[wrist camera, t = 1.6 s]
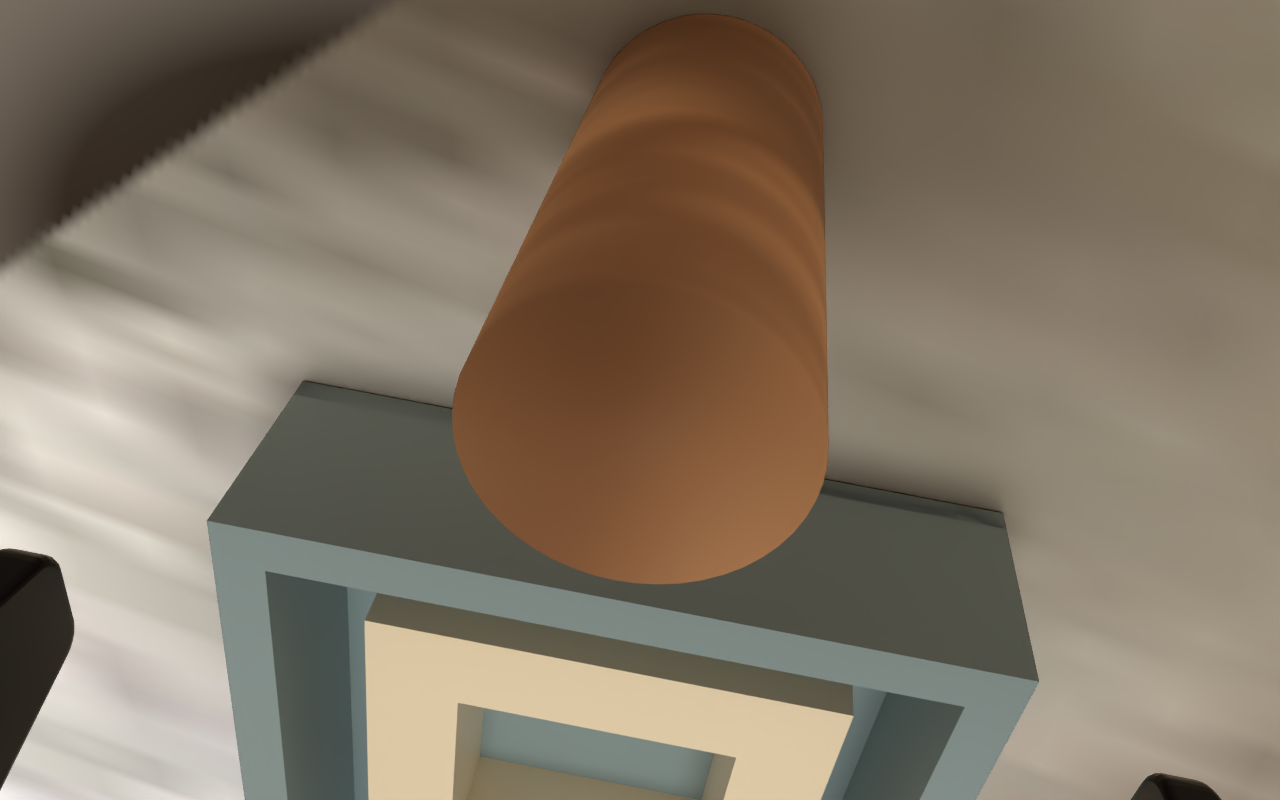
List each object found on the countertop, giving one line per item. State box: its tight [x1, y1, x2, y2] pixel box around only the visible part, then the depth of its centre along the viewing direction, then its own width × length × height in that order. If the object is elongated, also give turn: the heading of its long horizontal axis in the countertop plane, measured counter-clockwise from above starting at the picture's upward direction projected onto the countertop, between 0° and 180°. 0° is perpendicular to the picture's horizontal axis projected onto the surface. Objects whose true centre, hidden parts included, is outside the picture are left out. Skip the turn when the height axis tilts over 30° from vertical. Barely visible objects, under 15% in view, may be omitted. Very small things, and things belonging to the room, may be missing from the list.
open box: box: [207, 381, 1039, 800], centre depth 26 cm, size 15×16×4 cm
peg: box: [452, 14, 829, 584], centre depth 15 cm, size 4×4×9 cm
